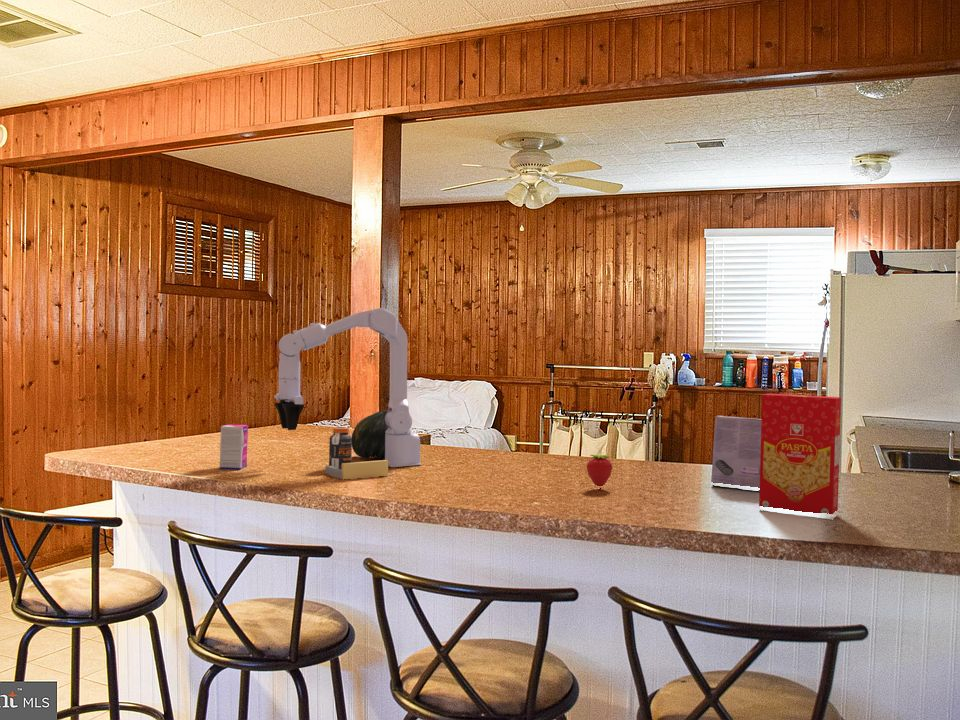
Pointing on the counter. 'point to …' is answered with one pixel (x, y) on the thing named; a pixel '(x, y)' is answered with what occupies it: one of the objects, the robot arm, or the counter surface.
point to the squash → (370, 436)
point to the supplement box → (233, 447)
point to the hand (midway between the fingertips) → (289, 429)
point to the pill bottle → (340, 447)
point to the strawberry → (599, 469)
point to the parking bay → (359, 470)
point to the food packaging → (800, 452)
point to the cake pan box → (737, 451)
